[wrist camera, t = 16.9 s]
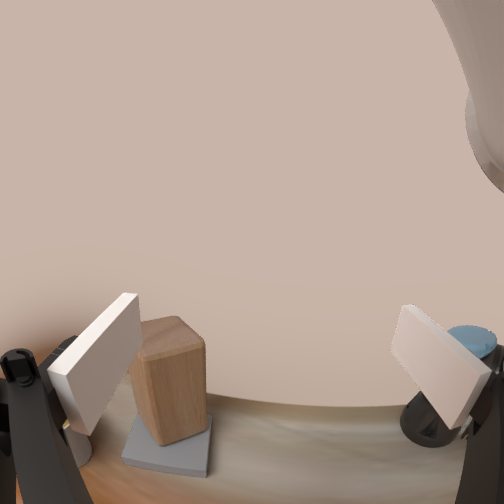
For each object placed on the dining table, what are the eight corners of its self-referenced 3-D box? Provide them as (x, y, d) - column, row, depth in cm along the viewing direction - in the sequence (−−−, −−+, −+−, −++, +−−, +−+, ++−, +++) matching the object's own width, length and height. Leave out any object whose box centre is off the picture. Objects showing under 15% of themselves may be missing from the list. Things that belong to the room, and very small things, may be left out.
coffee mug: (74, 478, 26) (51, 443, 24) (35, 451, 28) (13, 414, 26) (110, 433, 39) (97, 396, 37) (72, 414, 41) (58, 377, 39)
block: (137, 414, 43) (120, 323, 39) (182, 400, 50) (177, 312, 45) (159, 450, 36) (140, 356, 32) (209, 431, 42) (208, 339, 38)
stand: (211, 422, 47) (211, 413, 47) (206, 477, 34) (205, 470, 33) (142, 413, 47) (141, 404, 46) (124, 463, 33) (120, 456, 33)
